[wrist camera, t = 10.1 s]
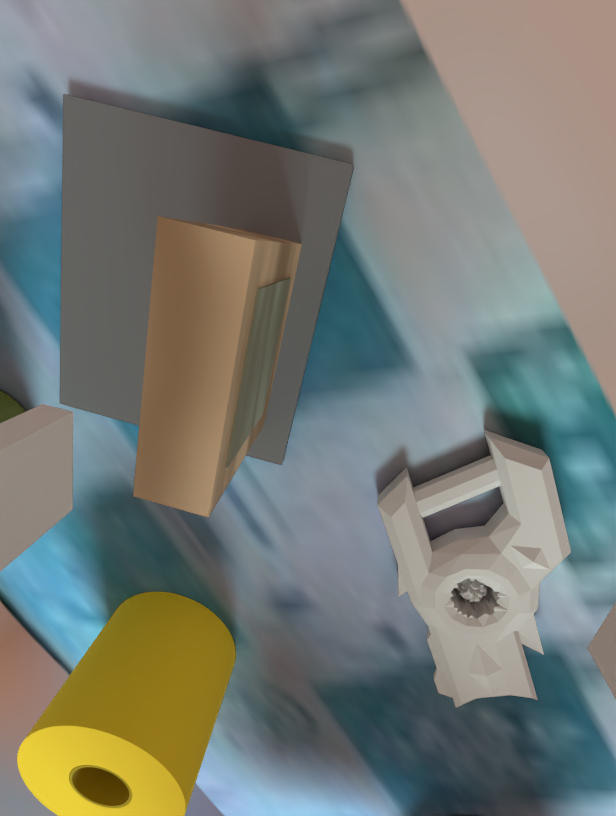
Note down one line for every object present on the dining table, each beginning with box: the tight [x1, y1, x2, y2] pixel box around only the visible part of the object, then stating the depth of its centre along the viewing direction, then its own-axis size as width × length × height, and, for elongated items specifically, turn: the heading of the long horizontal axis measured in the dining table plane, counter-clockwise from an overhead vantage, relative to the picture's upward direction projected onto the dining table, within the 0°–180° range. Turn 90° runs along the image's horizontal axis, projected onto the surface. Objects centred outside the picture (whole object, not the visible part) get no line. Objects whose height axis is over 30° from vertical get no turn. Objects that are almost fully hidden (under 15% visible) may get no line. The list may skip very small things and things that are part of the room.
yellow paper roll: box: [17, 592, 236, 816], centre depth 28 cm, size 10×10×9 cm
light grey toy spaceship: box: [377, 430, 571, 708], centre depth 25 cm, size 18×4×10 cm
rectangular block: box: [133, 216, 302, 517], centre depth 18 cm, size 3×10×9 cm, turn 167°
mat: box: [60, 94, 354, 465], centre depth 23 cm, size 16×14×1 cm
